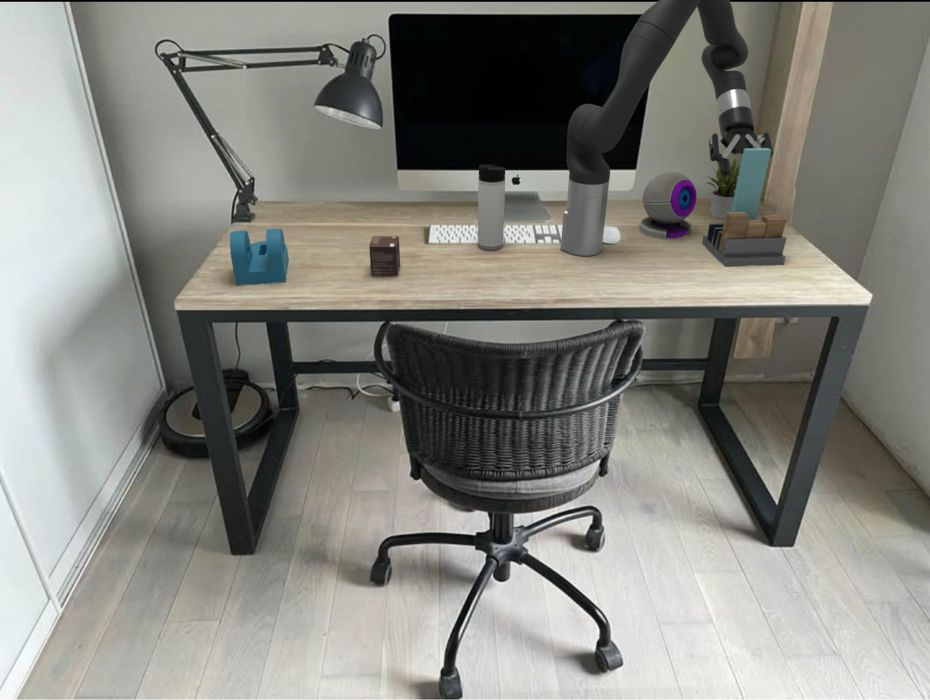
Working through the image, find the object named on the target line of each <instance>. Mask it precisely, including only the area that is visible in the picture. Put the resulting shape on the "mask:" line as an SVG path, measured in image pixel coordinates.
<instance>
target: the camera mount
mask: <svg viewBox="0 0 930 700" xmlns="http://www.w3.org/2000/svg"><path fill="white" fill-rule="evenodd" d="M229 251H230V252H229V253H230V258H231V263H232V264H231V265H232V269H233V276H234V279H235V286H243V285H242V284H250V285H260V284H261V283H264V284H273V283H272V282H279V283H286V282H287V277H286V276H288V269H289V268H288V267H289V250H288V246H287V244H286V242H285V236H284V231H283V228H269V229H266V233H265V240H263V241H257V242H253V243H251V239H250V236H249V233H248V231H247V230H232V231H230V234H229ZM259 283H260V284H259Z"/></svg>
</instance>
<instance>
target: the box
mask: <svg viewBox="0 0 930 700" xmlns="http://www.w3.org/2000/svg"><path fill="white" fill-rule="evenodd" d="M368 246H369V259H370V260H369V262H370V275H371V277H398V276H399V272H400V268H401V255H400V253H401V252H400V250H401V249H400V237H399V236H396V235H395V236H392V235H391V236H390V235H389V236H384V235H383V236H381V235H379V236H377V235H376V236H375V235H374V236H372V238H371V240H370V243H369V245H368Z"/></svg>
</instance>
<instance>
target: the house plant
mask: <svg viewBox="0 0 930 700" xmlns="http://www.w3.org/2000/svg"><path fill="white" fill-rule="evenodd" d="M727 159H728V160H729V166H730V175H729V176H728V177H724V176H723V175H722V174H721V170H720V164H719V162H718V161H716V163H717V166H718V167H717V168H718V169H717V170H716V171H715V173H716V175H714V176H715V178H714V177H711V176H706V177H707V178H708V179H710V180H711V181H712V182H713V183H715V184H716V185H717V187H716V185H715V184H713V183H712V182H711V181H710V182H709V181H708V182H706V184H708V185H711V186H712V187H714V188H715V189H714V190H712V191H711V195H710V196H711V201H710V202H711V206H710V207H711V210H710V216H711V215H712V216H711V217H713V218H716V219H719V218H720V220H721V219H722V220H725V216H726V212H731V209H732V205H733V200H734V195H735V190H736V185H737V180H738V175H739V171H740V166H741V164H739V165H738V166H737V160H736V157H735V156H733V158H732V161H731V160H730V158H729V157H727ZM705 164H707V165H708V166H710V168H712V169H713V170H715V168H714V167H713V166H711V165H710V164H709V163H708V162H707V163H705ZM716 179H717V180H716ZM717 188H718V189H717Z"/></svg>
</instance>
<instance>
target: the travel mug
mask: <svg viewBox="0 0 930 700" xmlns="http://www.w3.org/2000/svg"><path fill="white" fill-rule="evenodd" d="M477 181H478V185H477V186H478V190H477V192H478V193H477V195H478V197H477V200H478V201H477V203H478V204H477V247H478V248H480V249H481V250H483V251H484V250H485V251H497V250H501V249H502V248H503V247H504V231H505V230H504V228H505V227H504V226H505V201H506V200H505V195H506V167H504V166H502V167H501V166H498V165H497V164H486V163H485V164H480V165H479V166H478V179H477Z"/></svg>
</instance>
